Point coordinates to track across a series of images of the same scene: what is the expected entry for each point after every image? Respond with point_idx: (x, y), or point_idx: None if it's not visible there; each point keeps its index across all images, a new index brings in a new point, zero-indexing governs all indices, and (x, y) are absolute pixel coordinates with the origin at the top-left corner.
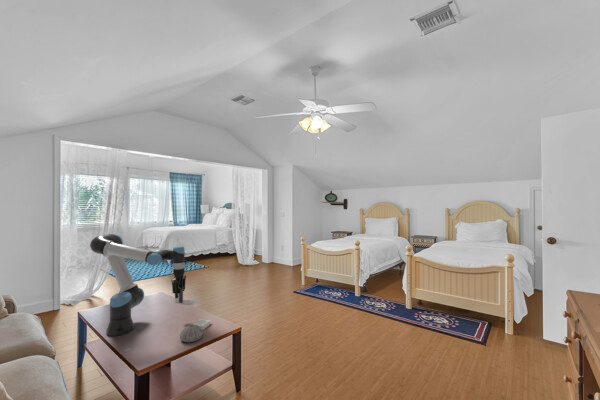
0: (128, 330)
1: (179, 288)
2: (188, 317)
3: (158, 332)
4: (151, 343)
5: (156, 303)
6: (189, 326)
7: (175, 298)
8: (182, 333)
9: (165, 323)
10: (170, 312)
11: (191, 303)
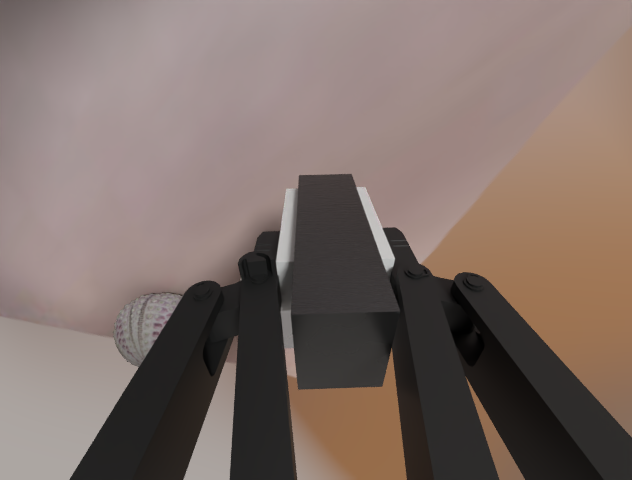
0: None
1: (320, 370)
2: (379, 171)
3: (122, 138)
4: (25, 201)
5: None
6: (139, 363)
7: (283, 216)
8: (116, 334)
9: (247, 72)
10: None
11: (288, 341)
